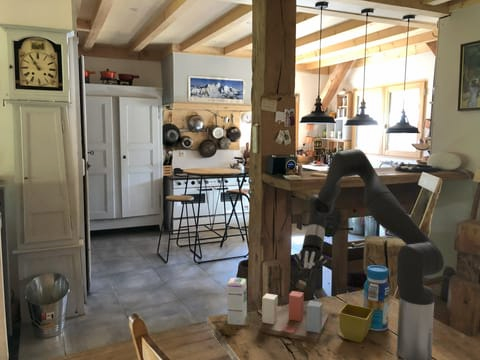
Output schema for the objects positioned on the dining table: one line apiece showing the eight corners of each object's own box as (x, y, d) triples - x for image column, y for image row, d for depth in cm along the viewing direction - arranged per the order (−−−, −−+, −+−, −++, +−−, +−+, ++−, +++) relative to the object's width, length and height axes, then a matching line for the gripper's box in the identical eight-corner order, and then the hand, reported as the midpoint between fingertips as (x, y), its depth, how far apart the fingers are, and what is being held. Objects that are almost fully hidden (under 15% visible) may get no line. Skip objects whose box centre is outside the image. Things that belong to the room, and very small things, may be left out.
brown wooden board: (328, 318, 144) (328, 313, 144) (316, 343, 128) (316, 337, 128) (276, 309, 152) (276, 304, 151) (258, 331, 135) (259, 325, 135)
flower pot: (372, 335, 133) (373, 308, 132) (366, 347, 125) (367, 319, 124) (345, 328, 137) (346, 302, 136) (337, 340, 130) (338, 312, 128)
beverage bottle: (357, 321, 142) (359, 265, 140) (378, 318, 144) (381, 263, 142) (371, 333, 134) (373, 273, 132) (393, 330, 136) (396, 271, 134)
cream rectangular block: (277, 319, 140) (277, 295, 139) (273, 324, 136) (273, 299, 135) (266, 317, 141) (266, 293, 140) (262, 322, 138) (262, 297, 137)
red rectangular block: (303, 316, 142) (303, 292, 141) (300, 321, 138) (300, 296, 137) (291, 314, 144) (292, 290, 143) (288, 319, 140) (289, 295, 139)
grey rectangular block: (321, 327, 134) (322, 302, 133) (319, 333, 130) (319, 307, 129) (309, 325, 136) (310, 300, 135) (306, 330, 132) (307, 305, 131)
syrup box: (243, 325, 139) (244, 284, 137) (226, 324, 140) (226, 282, 139) (247, 318, 145) (247, 278, 143) (230, 316, 146) (230, 276, 144)
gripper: (296, 232, 163) (286, 272, 153) (329, 235, 158) (322, 277, 148) (299, 242, 168) (290, 281, 158) (332, 245, 163) (325, 286, 153)
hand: (306, 279), depth 153 cm, fingers closed
